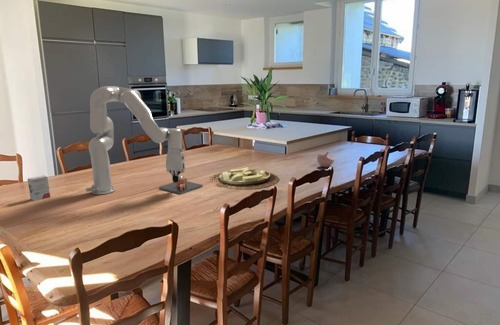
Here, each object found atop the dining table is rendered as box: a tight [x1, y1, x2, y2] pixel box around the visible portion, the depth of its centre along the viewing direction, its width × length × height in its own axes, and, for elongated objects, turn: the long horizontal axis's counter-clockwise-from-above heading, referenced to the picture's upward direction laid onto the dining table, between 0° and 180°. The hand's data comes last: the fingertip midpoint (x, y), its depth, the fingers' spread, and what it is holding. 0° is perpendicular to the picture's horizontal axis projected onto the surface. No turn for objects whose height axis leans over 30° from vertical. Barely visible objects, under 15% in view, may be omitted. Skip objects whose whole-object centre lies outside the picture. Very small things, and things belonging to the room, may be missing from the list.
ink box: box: [27, 174, 51, 202], centre depth 199 cm, size 9×5×12 cm, turn 141°
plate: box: [209, 166, 280, 191], centre depth 236 cm, size 45×45×7 cm
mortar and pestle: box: [316, 151, 335, 168], centre depth 266 cm, size 12×12×11 cm
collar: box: [176, 176, 188, 191], centre depth 214 cm, size 12×6×5 cm, turn 9°
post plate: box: [158, 175, 204, 195], centre depth 217 cm, size 18×18×7 cm
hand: (175, 182), depth 211 cm, fingers closed
